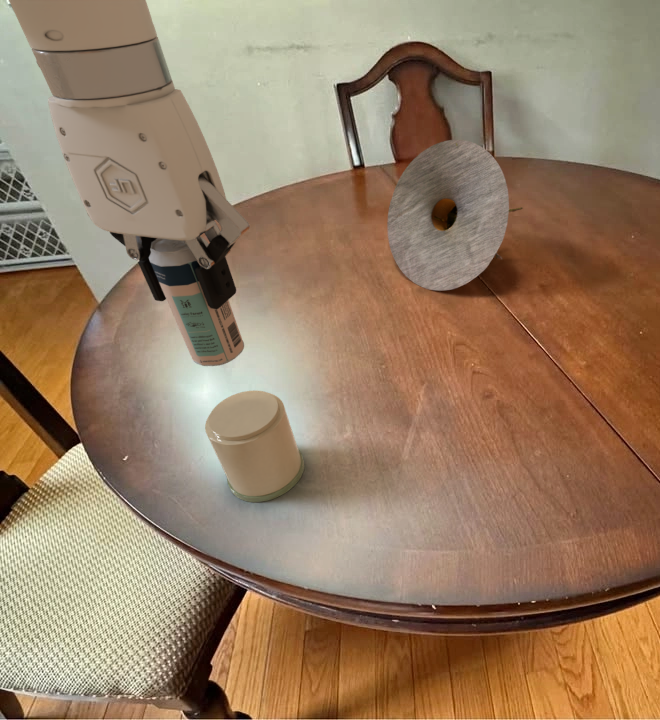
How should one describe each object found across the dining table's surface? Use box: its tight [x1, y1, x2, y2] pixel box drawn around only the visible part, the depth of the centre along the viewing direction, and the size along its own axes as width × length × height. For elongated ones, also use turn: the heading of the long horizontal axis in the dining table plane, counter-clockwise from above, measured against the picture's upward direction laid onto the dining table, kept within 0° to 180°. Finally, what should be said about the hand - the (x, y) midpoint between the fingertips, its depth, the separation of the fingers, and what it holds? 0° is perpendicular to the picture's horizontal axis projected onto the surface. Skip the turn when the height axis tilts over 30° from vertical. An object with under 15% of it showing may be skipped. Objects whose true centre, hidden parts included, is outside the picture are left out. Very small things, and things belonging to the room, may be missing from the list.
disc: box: [387, 139, 524, 292], centre depth 98 cm, size 25×18×25 cm
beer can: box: [149, 235, 245, 367], centre depth 50 cm, size 5×5×12 cm
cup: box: [204, 389, 305, 503], centre depth 61 cm, size 8×8×10 cm
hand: (196, 295), depth 50 cm, fingers closed on beer can, 4 cm apart
